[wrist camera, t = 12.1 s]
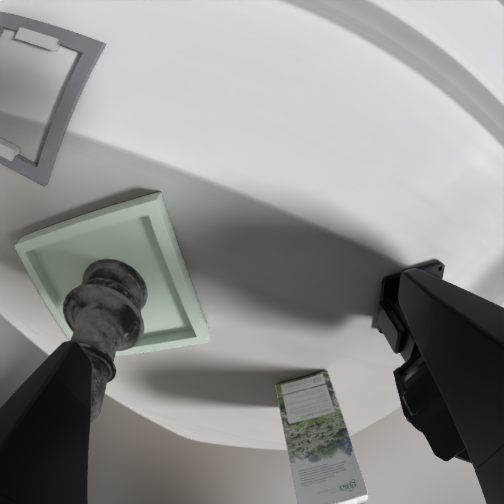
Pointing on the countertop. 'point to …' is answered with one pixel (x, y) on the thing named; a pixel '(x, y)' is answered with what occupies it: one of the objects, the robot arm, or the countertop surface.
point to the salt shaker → (106, 318)
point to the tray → (130, 252)
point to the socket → (91, 51)
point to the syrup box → (319, 443)
